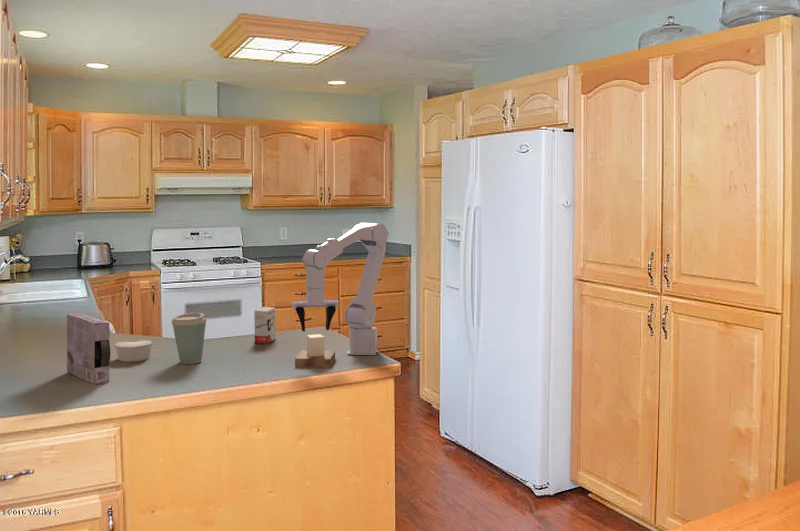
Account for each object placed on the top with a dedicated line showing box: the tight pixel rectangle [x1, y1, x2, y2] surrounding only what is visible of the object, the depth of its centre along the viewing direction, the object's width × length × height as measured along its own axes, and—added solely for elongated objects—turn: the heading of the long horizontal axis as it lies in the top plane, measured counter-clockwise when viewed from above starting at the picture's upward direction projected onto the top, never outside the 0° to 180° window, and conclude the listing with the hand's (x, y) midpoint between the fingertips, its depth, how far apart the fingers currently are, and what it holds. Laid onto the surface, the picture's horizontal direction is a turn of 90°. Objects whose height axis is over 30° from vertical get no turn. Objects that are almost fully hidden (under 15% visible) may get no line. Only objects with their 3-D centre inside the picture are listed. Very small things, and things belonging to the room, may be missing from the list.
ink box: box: [253, 306, 276, 345], centre depth 251 cm, size 9×5×12 cm, turn 168°
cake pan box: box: [66, 312, 111, 386], centre depth 201 cm, size 19×5×18 cm, turn 48°
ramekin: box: [114, 339, 153, 363], centre depth 224 cm, size 11×11×5 cm
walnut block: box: [294, 349, 336, 368], centre depth 222 cm, size 11×11×3 cm
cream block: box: [306, 333, 325, 357], centre depth 222 cm, size 4×4×6 cm
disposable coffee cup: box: [171, 312, 207, 365], centre depth 220 cm, size 11×11×15 cm
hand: (315, 330), depth 221 cm, fingers open, 7 cm apart
